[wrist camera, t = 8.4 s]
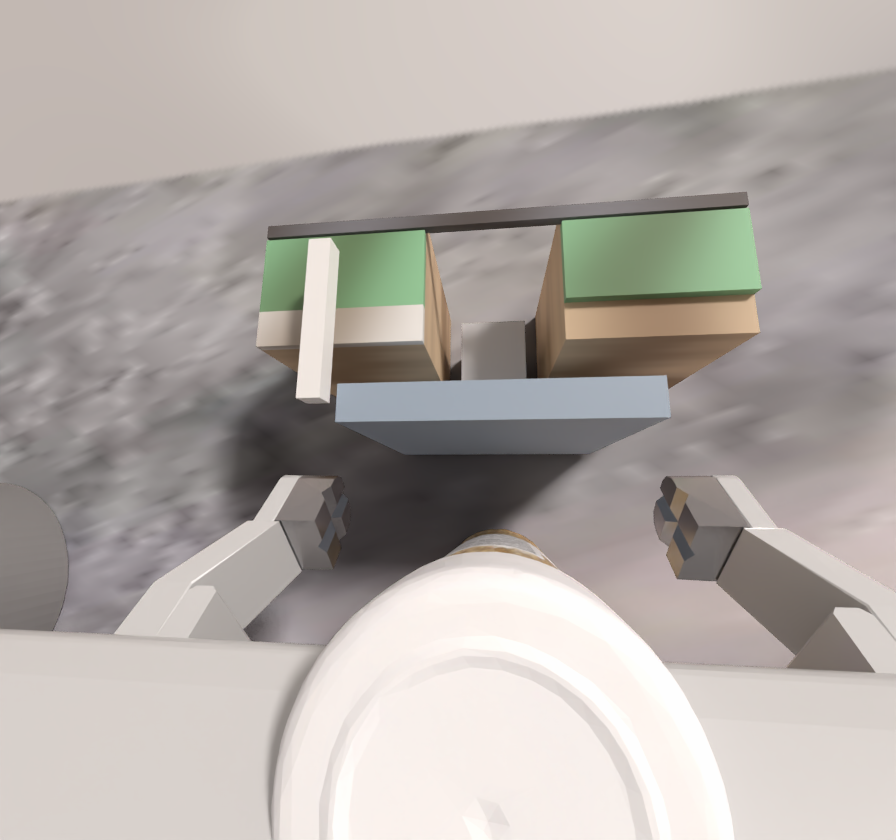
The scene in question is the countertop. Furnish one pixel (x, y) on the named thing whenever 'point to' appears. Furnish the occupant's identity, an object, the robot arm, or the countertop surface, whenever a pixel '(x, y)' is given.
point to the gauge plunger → (471, 391)
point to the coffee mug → (30, 561)
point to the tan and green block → (562, 296)
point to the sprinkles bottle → (493, 717)
